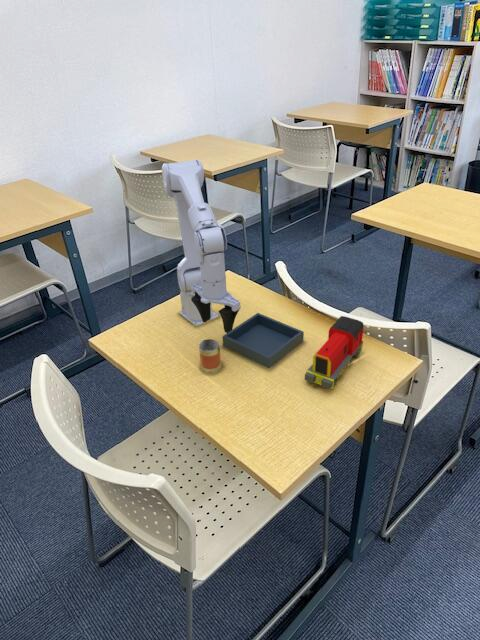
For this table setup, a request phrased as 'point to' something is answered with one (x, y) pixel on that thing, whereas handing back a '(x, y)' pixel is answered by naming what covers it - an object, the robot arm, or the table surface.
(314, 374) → the toy train
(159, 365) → the table surface
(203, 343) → the tin can
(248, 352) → the tub
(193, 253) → the robot arm
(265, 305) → the table surface
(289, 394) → the table surface
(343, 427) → the table surface
